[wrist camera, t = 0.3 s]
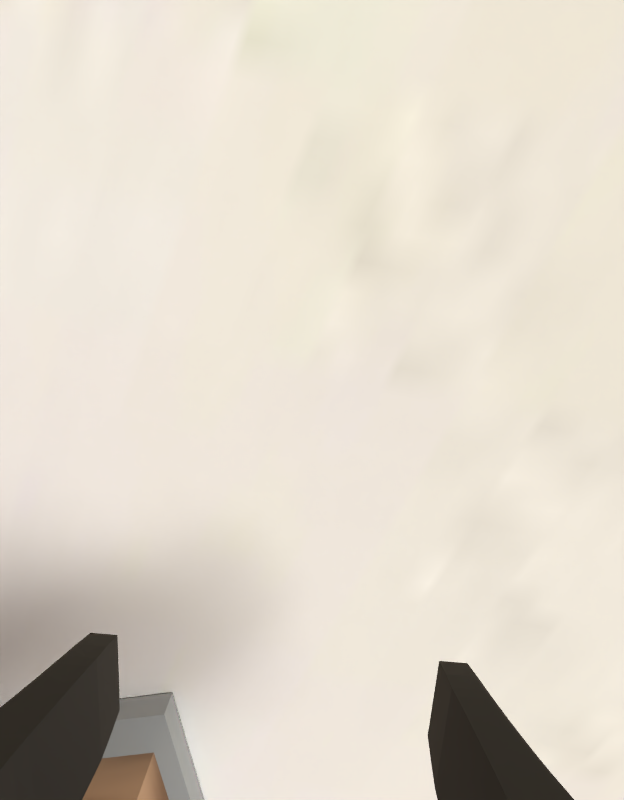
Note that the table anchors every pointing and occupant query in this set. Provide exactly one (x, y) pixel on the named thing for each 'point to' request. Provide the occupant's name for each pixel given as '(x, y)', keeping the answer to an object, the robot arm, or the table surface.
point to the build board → (156, 742)
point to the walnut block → (127, 779)
